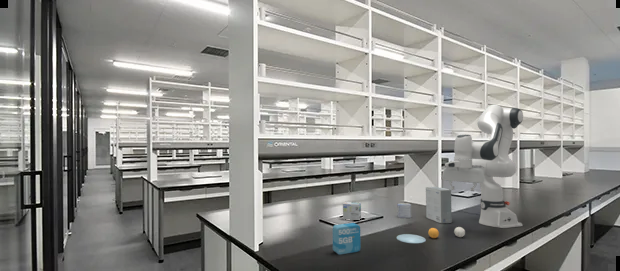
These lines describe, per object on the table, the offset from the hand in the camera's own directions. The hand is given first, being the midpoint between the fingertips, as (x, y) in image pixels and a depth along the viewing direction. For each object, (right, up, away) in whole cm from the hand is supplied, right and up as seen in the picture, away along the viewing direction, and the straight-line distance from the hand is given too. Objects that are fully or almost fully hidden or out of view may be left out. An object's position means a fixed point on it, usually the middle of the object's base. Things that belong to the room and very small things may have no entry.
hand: (462, 190), depth 164 cm
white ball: (-4, -20, -6) cm, 22 cm away
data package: (-65, -23, -25) cm, 74 cm away
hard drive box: (-1, -24, +27) cm, 36 cm away
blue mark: (-30, -23, -8) cm, 39 cm away
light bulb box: (-55, -24, +31) cm, 67 cm away
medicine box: (-20, -24, +36) cm, 48 cm away
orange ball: (-18, -20, -7) cm, 28 cm away
